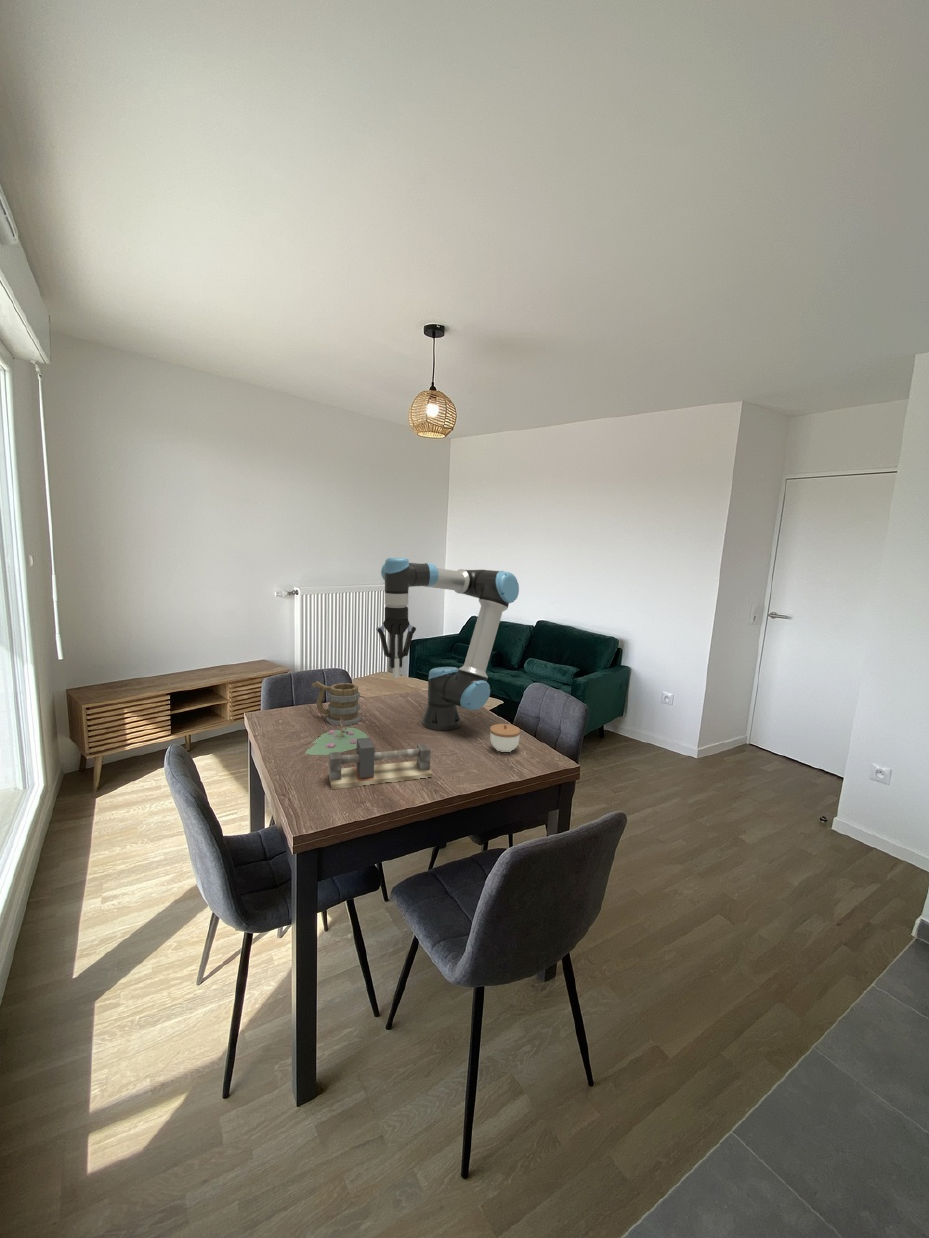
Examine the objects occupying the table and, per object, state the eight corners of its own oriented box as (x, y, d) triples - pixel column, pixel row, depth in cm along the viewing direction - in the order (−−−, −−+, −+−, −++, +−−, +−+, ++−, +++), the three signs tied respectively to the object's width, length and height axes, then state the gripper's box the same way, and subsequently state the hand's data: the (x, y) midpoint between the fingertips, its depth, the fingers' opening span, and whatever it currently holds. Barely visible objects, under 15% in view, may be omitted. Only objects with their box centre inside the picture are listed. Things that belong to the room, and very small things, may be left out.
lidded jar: (523, 747, 183) (524, 722, 181) (513, 758, 173) (514, 732, 172) (495, 741, 187) (496, 717, 186) (484, 751, 177) (485, 726, 176)
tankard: (365, 717, 207) (365, 681, 205) (351, 727, 195) (351, 689, 193) (320, 711, 212) (320, 676, 210) (304, 721, 200) (304, 684, 198)
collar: (369, 765, 158) (370, 737, 156) (373, 776, 150) (374, 747, 149) (356, 767, 156) (356, 738, 155) (360, 778, 149) (360, 748, 148)
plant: (344, 762, 165) (344, 735, 164) (290, 752, 171) (290, 727, 170) (378, 736, 189) (379, 713, 188) (330, 728, 195) (330, 705, 193)
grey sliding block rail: (423, 764, 165) (424, 740, 164) (431, 777, 156) (432, 753, 154) (328, 774, 155) (328, 749, 154) (331, 789, 145) (331, 763, 144)
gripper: (413, 604, 169) (412, 672, 172) (374, 604, 164) (373, 675, 168) (419, 607, 162) (418, 678, 165) (378, 608, 157) (378, 681, 161)
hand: (396, 677), depth 166 cm, fingers closed
